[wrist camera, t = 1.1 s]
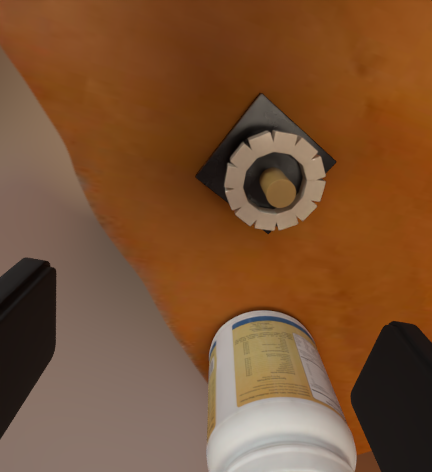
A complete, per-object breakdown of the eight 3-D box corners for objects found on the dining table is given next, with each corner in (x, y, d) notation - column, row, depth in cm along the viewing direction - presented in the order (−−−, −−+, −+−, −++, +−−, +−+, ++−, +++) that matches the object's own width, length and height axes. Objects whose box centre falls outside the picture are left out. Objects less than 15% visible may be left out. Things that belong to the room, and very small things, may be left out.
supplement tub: (267, 400, 42) (297, 579, 26) (189, 356, 39) (170, 528, 23) (334, 339, 38) (416, 508, 22) (253, 285, 35) (281, 436, 20)
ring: (269, 108, 23) (272, 109, 22) (339, 172, 25) (346, 176, 24) (205, 187, 26) (205, 191, 24) (274, 240, 28) (277, 247, 26)
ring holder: (259, 92, 28) (278, 90, 19) (333, 160, 30) (377, 184, 22) (195, 174, 30) (187, 203, 22) (267, 230, 33) (283, 276, 24)
